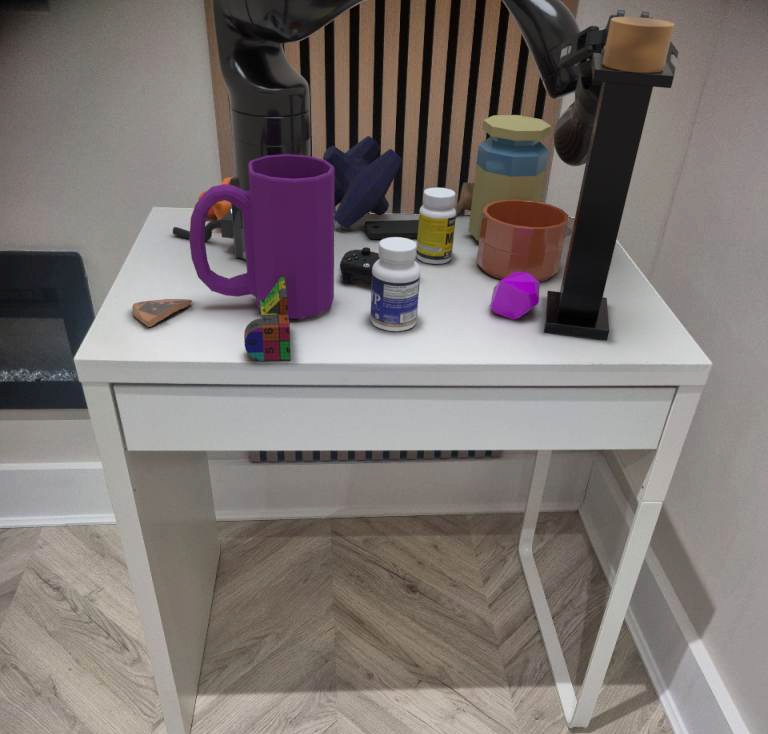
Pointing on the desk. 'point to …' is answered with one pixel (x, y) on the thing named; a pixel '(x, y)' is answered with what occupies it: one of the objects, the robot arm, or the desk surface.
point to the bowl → (521, 238)
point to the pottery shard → (157, 309)
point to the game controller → (358, 264)
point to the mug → (278, 232)
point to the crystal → (515, 295)
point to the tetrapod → (361, 180)
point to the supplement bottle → (436, 226)
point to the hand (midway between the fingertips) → (632, 21)
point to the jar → (509, 163)
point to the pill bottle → (395, 285)
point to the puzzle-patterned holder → (270, 328)
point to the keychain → (392, 228)
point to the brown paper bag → (465, 198)
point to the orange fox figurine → (220, 204)
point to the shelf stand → (602, 200)
